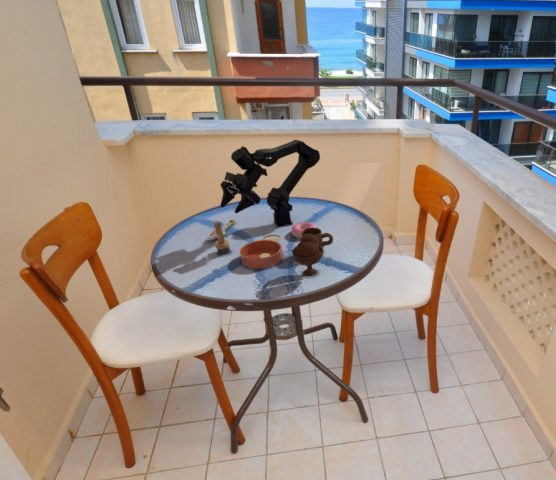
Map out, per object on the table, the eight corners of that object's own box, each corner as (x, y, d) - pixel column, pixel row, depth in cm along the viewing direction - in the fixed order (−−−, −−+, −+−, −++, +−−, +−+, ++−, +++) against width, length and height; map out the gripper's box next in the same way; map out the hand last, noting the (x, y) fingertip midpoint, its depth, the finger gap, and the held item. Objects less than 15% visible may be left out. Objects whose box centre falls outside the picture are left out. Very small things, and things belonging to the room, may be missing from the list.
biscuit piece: (269, 255, 159) (269, 252, 158) (271, 259, 156) (271, 257, 155) (259, 257, 158) (258, 254, 157) (260, 261, 155) (260, 259, 154)
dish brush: (230, 249, 164) (223, 218, 156) (231, 254, 160) (224, 223, 153) (217, 251, 162) (209, 220, 155) (218, 257, 159) (210, 225, 151)
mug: (336, 250, 163) (335, 228, 158) (332, 259, 157) (330, 237, 152) (307, 248, 165) (304, 226, 159) (301, 257, 158) (298, 235, 153)
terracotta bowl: (279, 247, 165) (277, 237, 163) (287, 265, 154) (285, 254, 151) (239, 254, 160) (237, 243, 158) (245, 273, 149) (242, 262, 146)
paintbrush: (204, 235, 166) (228, 218, 183) (205, 242, 168) (229, 223, 184) (212, 236, 166) (236, 218, 182) (214, 242, 167) (237, 224, 184)
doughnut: (313, 227, 181) (312, 218, 178) (321, 237, 173) (320, 228, 170) (288, 231, 177) (287, 222, 175) (295, 242, 169) (294, 233, 166)
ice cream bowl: (295, 266, 153) (290, 229, 144) (326, 265, 153) (323, 228, 145) (293, 282, 144) (287, 243, 135) (325, 280, 145) (321, 242, 136)
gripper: (222, 159, 160) (199, 191, 158) (252, 168, 151) (228, 203, 148) (241, 177, 170) (219, 208, 167) (270, 187, 160) (248, 220, 158)
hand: (228, 209), depth 160 cm, fingers open, 9 cm apart
